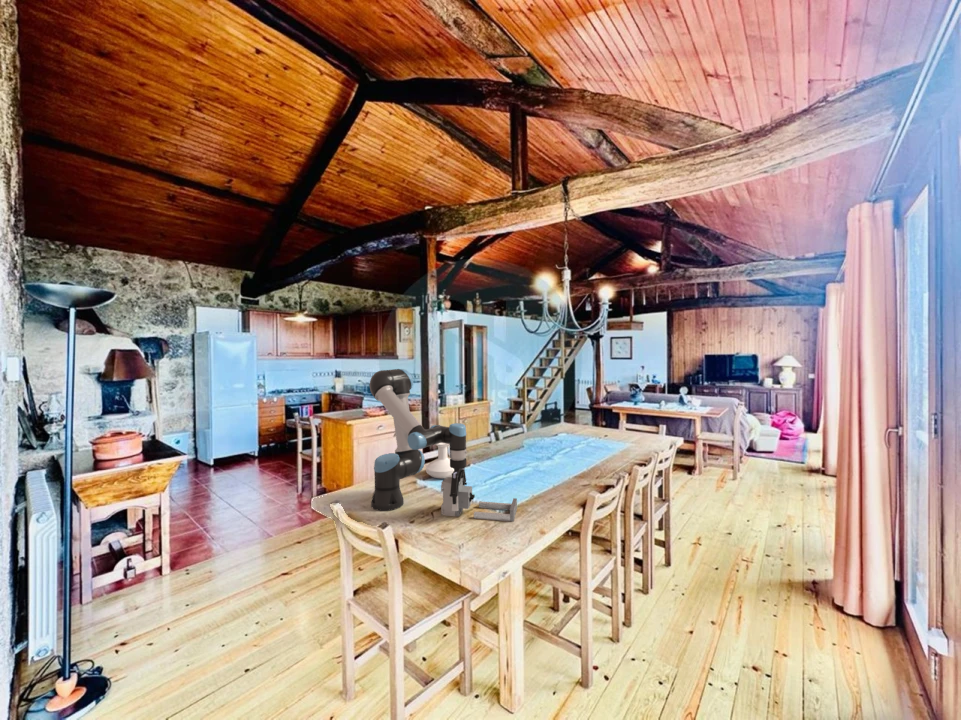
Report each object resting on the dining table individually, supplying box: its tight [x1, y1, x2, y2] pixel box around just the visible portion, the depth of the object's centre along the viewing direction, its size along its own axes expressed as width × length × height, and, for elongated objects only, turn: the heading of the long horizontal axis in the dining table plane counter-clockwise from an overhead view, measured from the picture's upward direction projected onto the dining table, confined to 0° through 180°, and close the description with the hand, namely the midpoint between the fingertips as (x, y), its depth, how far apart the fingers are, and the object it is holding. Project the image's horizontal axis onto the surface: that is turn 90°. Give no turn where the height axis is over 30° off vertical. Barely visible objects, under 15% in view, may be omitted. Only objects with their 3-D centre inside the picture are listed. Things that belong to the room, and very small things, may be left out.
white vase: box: [425, 443, 454, 479], centre depth 237 cm, size 20×20×19 cm
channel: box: [473, 497, 518, 522], centre depth 184 cm, size 18×13×5 cm
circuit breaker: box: [440, 477, 476, 517], centre depth 185 cm, size 8×14×15 cm, turn 78°
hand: (458, 504), depth 185 cm, fingers open, 12 cm apart
